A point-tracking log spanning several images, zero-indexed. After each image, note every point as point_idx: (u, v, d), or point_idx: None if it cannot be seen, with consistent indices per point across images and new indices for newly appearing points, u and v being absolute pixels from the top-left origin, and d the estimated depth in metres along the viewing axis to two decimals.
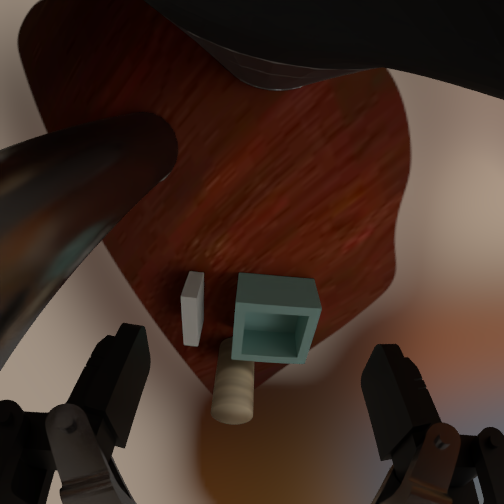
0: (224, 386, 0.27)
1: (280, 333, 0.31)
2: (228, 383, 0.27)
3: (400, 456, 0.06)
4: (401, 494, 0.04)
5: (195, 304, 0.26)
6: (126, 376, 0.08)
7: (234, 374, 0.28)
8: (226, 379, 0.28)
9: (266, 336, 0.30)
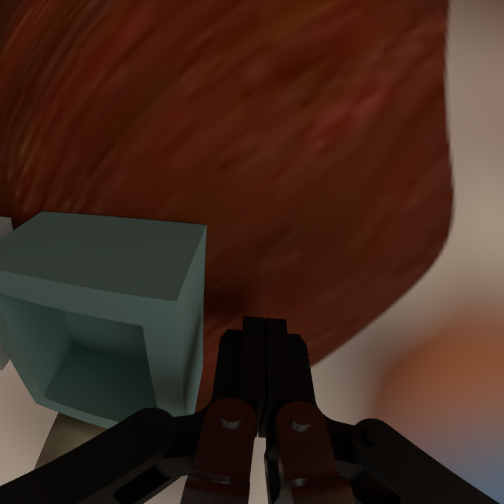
0: (43, 461, 0.08)
1: (146, 363, 0.12)
2: (49, 459, 0.08)
3: (268, 433, 0.07)
4: (286, 497, 0.05)
5: None
6: None
7: (65, 443, 0.09)
8: (50, 448, 0.09)
9: (112, 366, 0.12)
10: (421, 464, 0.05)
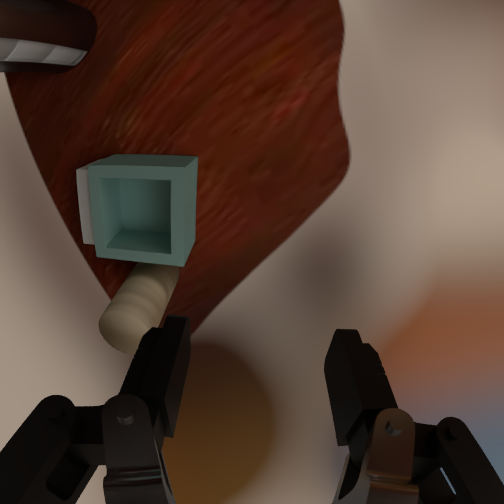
0: (119, 293, 0.20)
1: (163, 233, 0.24)
2: (124, 290, 0.20)
3: (354, 441, 0.07)
4: (360, 489, 0.05)
5: None
6: (177, 366, 0.08)
7: (136, 282, 0.21)
8: (124, 287, 0.21)
9: (145, 235, 0.24)
10: (482, 468, 0.04)
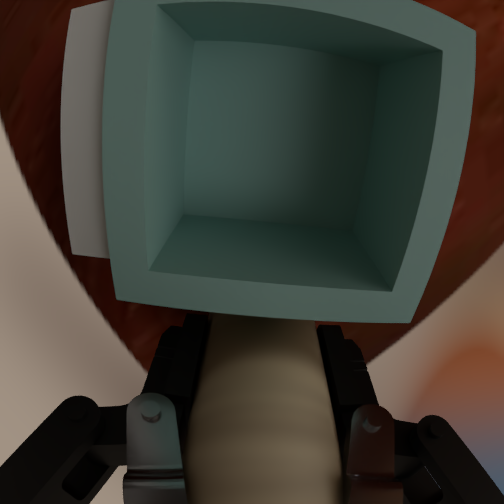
0: (223, 437, 0.05)
1: (309, 227, 0.09)
2: (242, 426, 0.06)
3: None
4: None
5: None
6: (198, 364, 0.08)
7: (267, 385, 0.06)
8: (231, 405, 0.06)
9: (261, 230, 0.09)
10: (468, 465, 0.05)
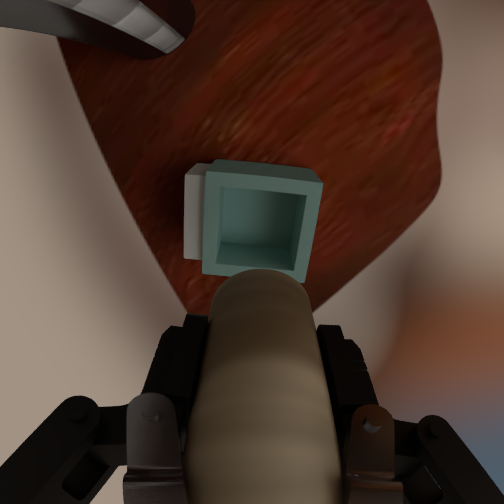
0: (223, 438, 0.05)
1: (270, 247, 0.24)
2: (242, 426, 0.06)
3: None
4: None
5: (204, 186, 0.19)
6: (199, 364, 0.08)
7: (268, 386, 0.06)
8: (231, 406, 0.06)
9: (251, 249, 0.23)
10: (468, 465, 0.05)
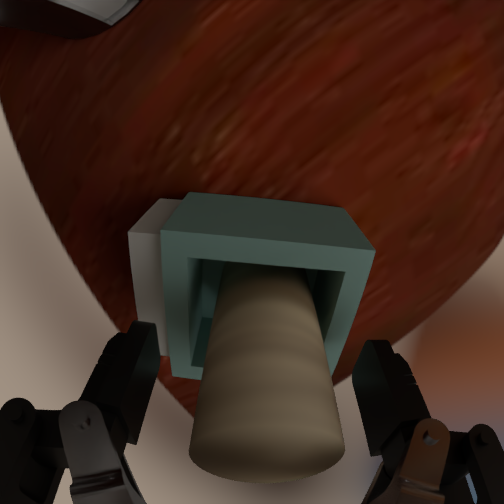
0: (236, 355, 0.08)
1: None
2: (252, 346, 0.08)
3: (389, 452, 0.07)
4: (391, 492, 0.04)
5: None
6: (138, 373, 0.08)
7: (271, 319, 0.09)
8: (243, 333, 0.08)
9: None
10: None
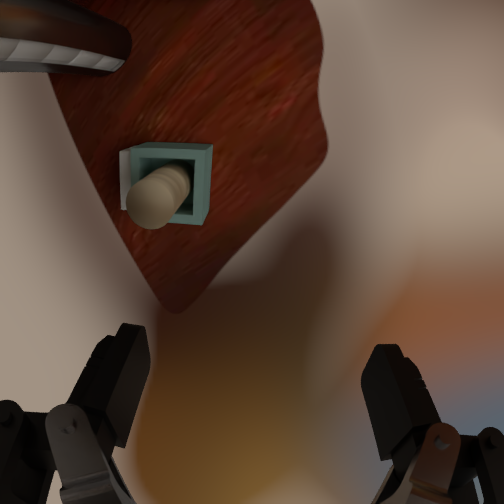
0: (146, 176, 0.23)
1: (185, 203, 0.31)
2: (151, 173, 0.24)
3: (400, 456, 0.06)
4: (401, 494, 0.04)
5: None
6: (126, 376, 0.08)
7: (161, 170, 0.25)
8: (151, 173, 0.24)
9: None
10: None
